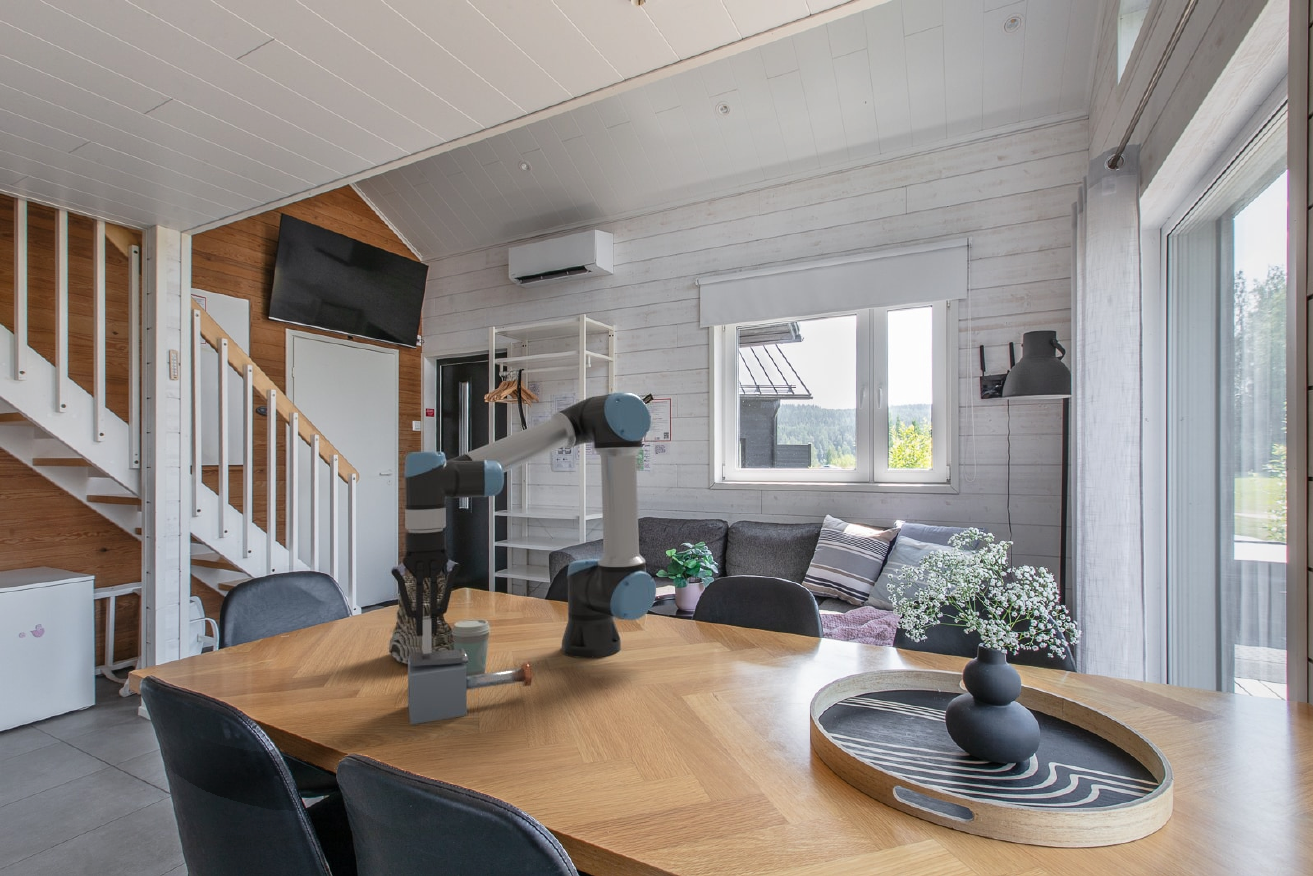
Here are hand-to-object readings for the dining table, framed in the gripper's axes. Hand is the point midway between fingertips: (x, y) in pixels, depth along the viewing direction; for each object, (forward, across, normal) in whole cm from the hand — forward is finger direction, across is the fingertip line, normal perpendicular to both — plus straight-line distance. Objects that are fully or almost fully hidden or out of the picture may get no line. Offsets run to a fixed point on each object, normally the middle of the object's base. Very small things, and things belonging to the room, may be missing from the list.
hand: (426, 651), depth 126 cm
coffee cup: (+12, -11, -18) cm, 24 cm away
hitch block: (+12, -2, 0) cm, 12 cm away
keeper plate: (+2, -2, 0) cm, 3 cm away
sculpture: (+12, -2, -37) cm, 39 cm away
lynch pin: (+10, -12, 0) cm, 16 cm away
